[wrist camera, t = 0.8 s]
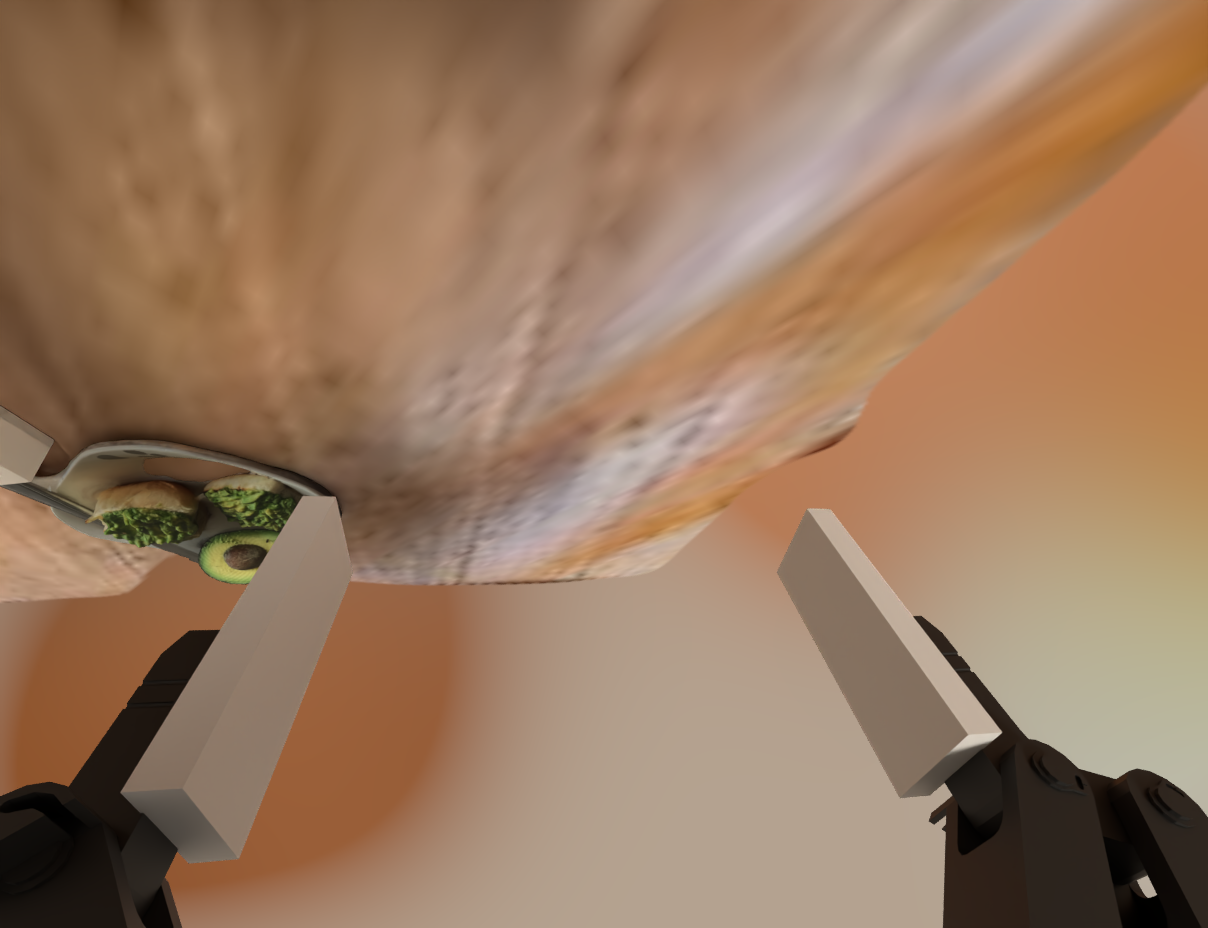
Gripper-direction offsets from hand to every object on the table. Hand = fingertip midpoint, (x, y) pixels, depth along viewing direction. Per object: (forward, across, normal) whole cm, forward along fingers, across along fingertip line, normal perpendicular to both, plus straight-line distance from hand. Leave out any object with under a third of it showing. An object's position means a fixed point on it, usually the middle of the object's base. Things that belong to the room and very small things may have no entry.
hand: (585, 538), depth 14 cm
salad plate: (+24, -26, -19) cm, 40 cm away
